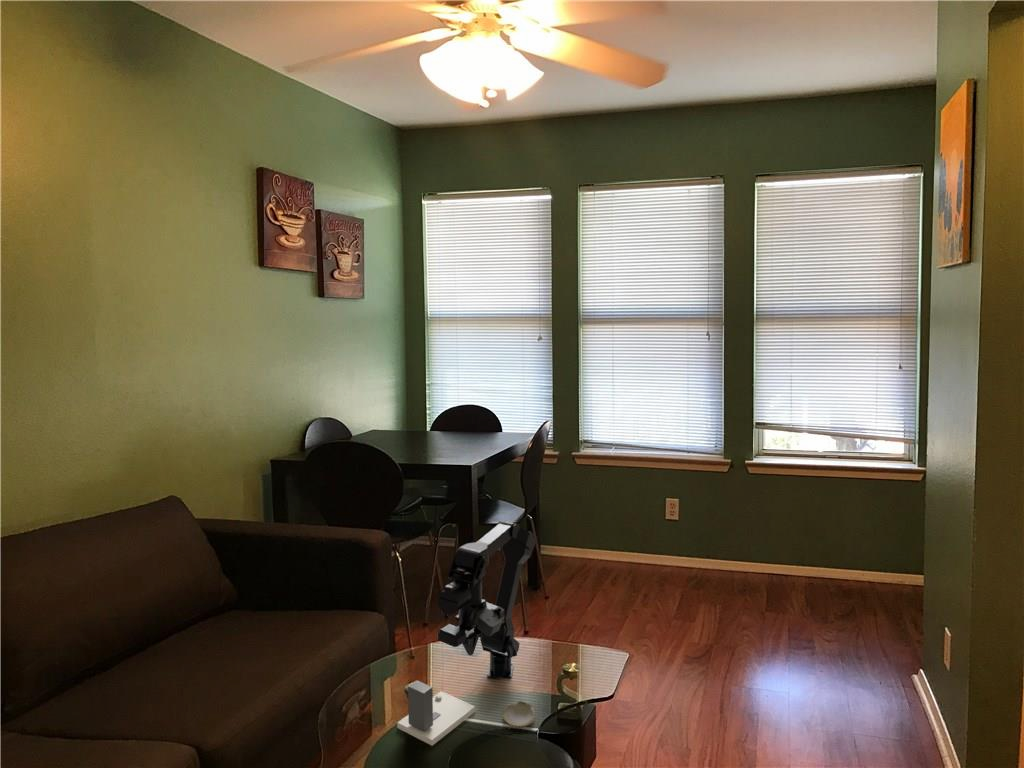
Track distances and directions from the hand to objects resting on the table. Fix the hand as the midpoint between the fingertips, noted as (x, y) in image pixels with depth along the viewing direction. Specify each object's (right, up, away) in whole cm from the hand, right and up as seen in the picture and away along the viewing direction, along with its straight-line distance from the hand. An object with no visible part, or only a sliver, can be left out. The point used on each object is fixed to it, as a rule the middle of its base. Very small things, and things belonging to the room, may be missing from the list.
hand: (470, 654), depth 202 cm
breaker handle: (-11, -13, -10) cm, 20 cm away
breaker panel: (-8, -14, -5) cm, 17 cm away
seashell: (+12, -15, -4) cm, 20 cm away
